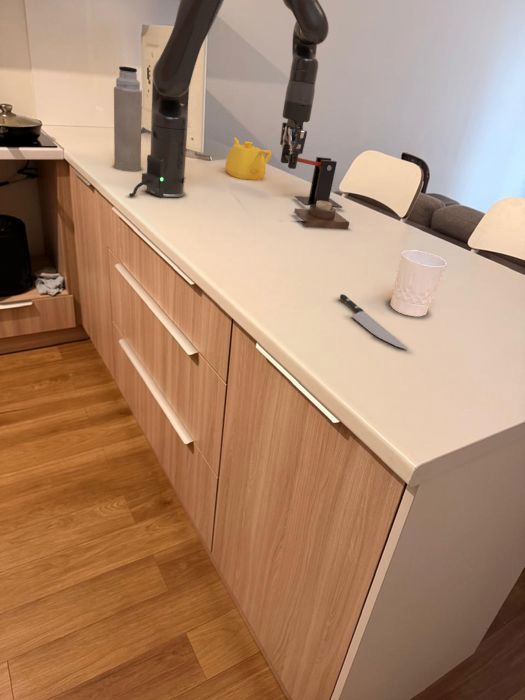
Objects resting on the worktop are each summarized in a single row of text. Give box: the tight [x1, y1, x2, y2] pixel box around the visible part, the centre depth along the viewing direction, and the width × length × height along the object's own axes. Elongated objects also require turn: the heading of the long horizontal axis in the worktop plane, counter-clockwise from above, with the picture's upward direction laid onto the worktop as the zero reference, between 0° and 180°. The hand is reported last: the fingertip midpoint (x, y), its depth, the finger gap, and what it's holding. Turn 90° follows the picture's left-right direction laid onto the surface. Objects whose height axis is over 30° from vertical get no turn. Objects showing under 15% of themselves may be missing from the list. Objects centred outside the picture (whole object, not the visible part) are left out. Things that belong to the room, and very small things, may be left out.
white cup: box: [389, 249, 448, 317], centre depth 92 cm, size 8×8×10 cm
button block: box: [293, 204, 350, 230], centre depth 135 cm, size 12×10×4 cm
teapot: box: [225, 137, 272, 181], centre depth 172 cm, size 22×16×11 cm
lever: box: [284, 153, 322, 169], centre depth 145 cm, size 14×6×2 cm, turn 106°
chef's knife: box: [339, 293, 409, 350], centre depth 86 cm, size 19×1×3 cm
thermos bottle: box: [113, 66, 143, 172], centre depth 152 cm, size 8×8×28 cm
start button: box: [316, 201, 332, 210], centre depth 134 cm, size 4×4×2 cm
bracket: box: [294, 156, 343, 209], centre depth 149 cm, size 12×9×13 cm
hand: (287, 165), depth 143 cm, fingers closed on lever, 6 cm apart
